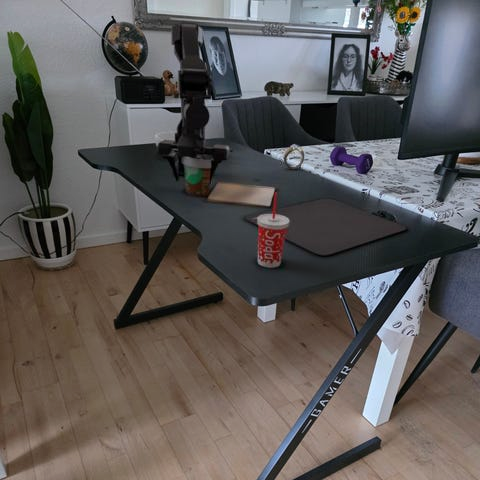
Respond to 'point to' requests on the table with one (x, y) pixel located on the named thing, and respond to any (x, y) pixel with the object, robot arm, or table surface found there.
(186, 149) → the robot arm
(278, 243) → the beverage cup
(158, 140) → the cereal bowl
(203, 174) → the food container
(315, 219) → the mouse pad
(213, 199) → the placemat
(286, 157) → the ring
